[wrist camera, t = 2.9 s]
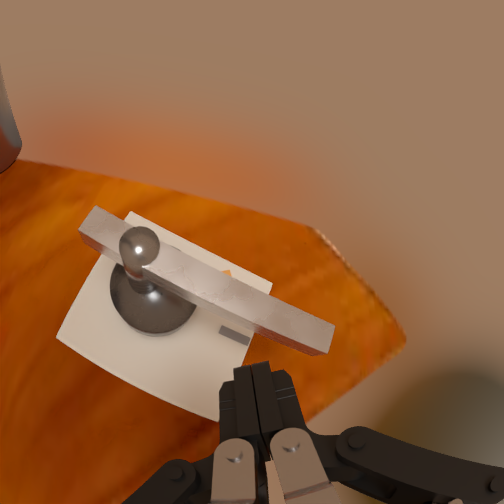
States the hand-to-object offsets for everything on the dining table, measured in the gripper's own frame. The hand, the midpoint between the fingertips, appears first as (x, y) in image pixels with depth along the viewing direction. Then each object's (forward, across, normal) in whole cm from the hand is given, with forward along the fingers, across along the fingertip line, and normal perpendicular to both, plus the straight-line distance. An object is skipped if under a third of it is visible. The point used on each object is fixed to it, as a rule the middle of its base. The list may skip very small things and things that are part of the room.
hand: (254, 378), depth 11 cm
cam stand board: (+18, +10, +6) cm, 21 cm away
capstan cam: (+17, +7, +6) cm, 20 cm away
